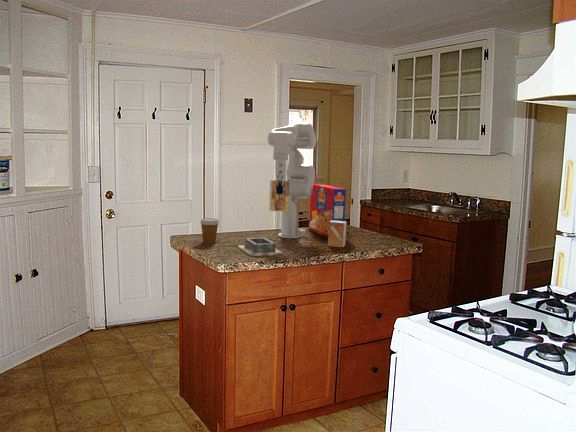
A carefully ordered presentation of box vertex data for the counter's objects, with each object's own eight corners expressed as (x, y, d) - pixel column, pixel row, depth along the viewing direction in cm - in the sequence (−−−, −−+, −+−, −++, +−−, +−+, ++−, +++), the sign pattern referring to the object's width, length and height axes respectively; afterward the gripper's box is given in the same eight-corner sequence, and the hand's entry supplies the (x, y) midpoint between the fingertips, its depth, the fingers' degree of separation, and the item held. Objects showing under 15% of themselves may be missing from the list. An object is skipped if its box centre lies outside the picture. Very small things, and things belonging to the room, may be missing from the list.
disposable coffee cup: (196, 242, 285) (196, 219, 283) (210, 240, 291) (211, 217, 290) (207, 245, 278) (208, 221, 276) (222, 242, 285) (222, 220, 283)
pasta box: (309, 229, 335) (311, 184, 331) (320, 229, 338) (322, 184, 334) (331, 238, 310) (333, 189, 306) (343, 237, 313) (346, 188, 309)
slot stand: (268, 246, 281) (268, 236, 280) (282, 254, 263) (282, 244, 262) (238, 247, 275) (238, 237, 274) (250, 256, 257) (250, 245, 256)
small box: (327, 246, 287) (328, 221, 285) (330, 244, 293) (331, 220, 291) (342, 247, 285) (344, 223, 283) (345, 245, 291) (346, 221, 289)
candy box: (285, 210, 280) (286, 180, 278) (288, 211, 276) (289, 180, 274) (269, 210, 277) (270, 179, 275) (271, 211, 273) (272, 180, 271)
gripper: (289, 157, 265) (287, 195, 267) (287, 156, 282) (285, 192, 284) (273, 157, 265) (272, 194, 267) (272, 156, 281) (271, 191, 284)
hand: (279, 192), depth 276 cm, fingers closed on candy box, 5 cm apart
